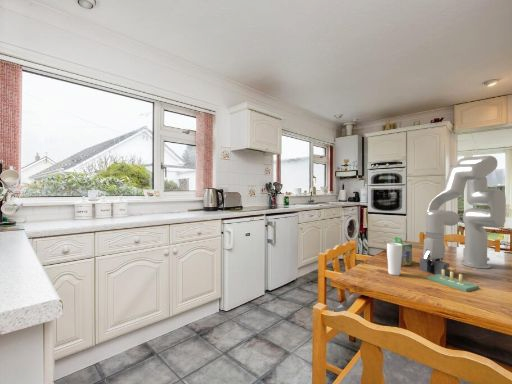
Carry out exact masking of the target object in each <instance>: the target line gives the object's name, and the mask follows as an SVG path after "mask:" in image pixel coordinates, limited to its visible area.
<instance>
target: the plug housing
mask: <svg viewBox="0 0 512 384" xmlns="http://www.w3.org/2000/svg"><path fill="white" fill-rule="evenodd" d="M430 261H431V259H430ZM433 265H434V273H430V272H427V263H426V261H425V260H424V257H420V258H419V270H421V271H422V272H427V273H430V274H433V275H438V274H440V275H442V269H444V270H445V276H447V277H450V272H457V269H456V268H453V267H450V262H445V261H443V260H442V261H438V260H435V259H434V264H433Z"/></svg>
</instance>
